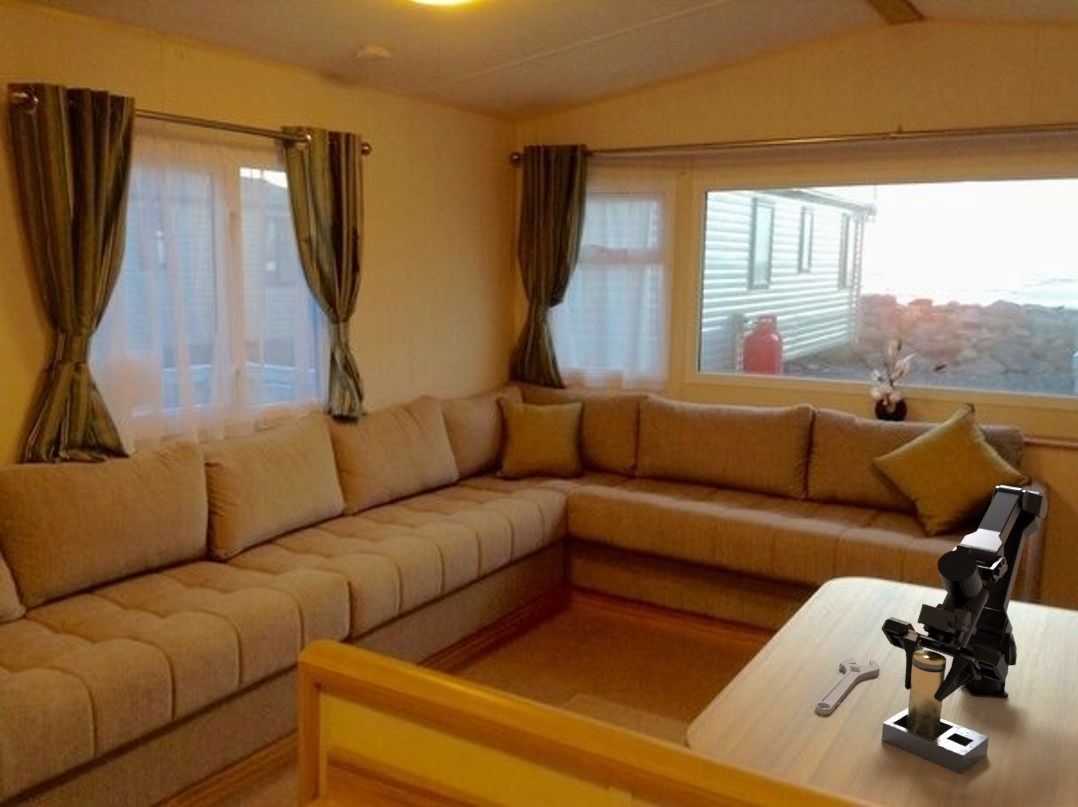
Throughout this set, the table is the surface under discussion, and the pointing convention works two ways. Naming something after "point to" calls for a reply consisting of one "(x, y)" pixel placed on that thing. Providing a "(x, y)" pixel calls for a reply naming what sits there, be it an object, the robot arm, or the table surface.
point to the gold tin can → (926, 693)
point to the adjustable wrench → (846, 683)
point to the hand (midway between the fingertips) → (922, 694)
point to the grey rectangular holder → (938, 743)
